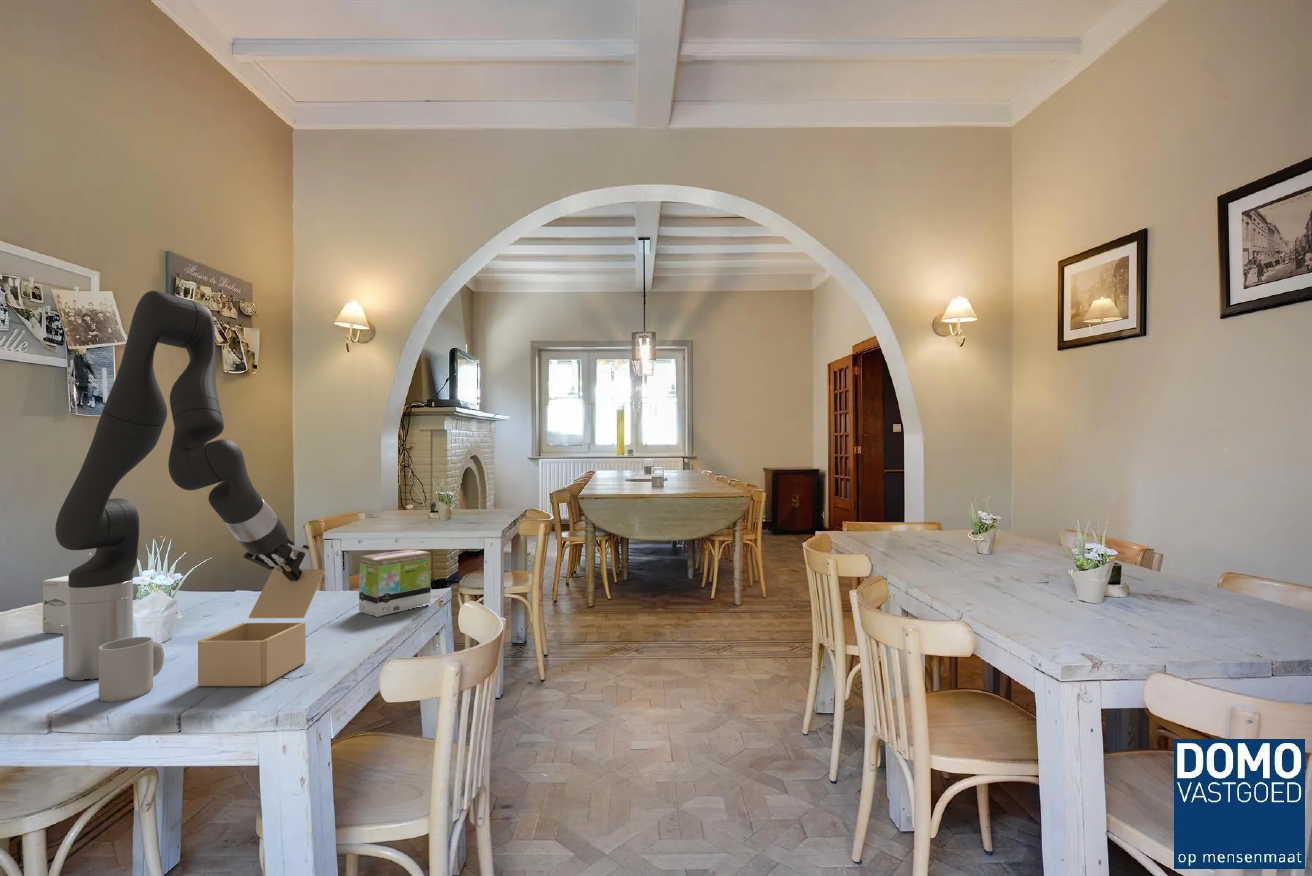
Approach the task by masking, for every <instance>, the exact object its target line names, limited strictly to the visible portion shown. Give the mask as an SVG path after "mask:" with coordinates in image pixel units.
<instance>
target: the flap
mask: <svg viewBox="0 0 1312 876" xmlns="http://www.w3.org/2000/svg"><path fill="white" fill-rule="evenodd" d="M300 569H301V571H302V574H301V576H300V578H299V579H298V581H290V580H289V579H288V578H286V577H285V575H284V574H283V573H282V572H280V571H278V570H277V569H276V568H274V569H273V570H271V573H270V574H269V576H268V579H267V581H266V582H265V584H264V586H263V588H262V590H261V592H260V594H259V596H258V597H257V599H256V602H255V603H254V606H253V608H252V610H251V612H250V613H249V616H248V618H249V619H305V618H306V615H307V612H308V611H309V608H310V605H311V603H312V602H313V599H314V597H315V595H316V592H317V590H318V588H319V587H320V586H319V585H320V583H321V581H322V580H323V579H322V578H323V576H324V574H325V572H326V568H300Z"/></svg>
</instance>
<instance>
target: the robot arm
mask: <svg viewBox="0 0 1312 876" xmlns="http://www.w3.org/2000/svg"><path fill="white" fill-rule="evenodd" d="M215 328H216V325H215V319H214V316H213V313H212V311H211V310H210V309H209V308H208V307H207V306H206V305H204V304H201V303H199V302H196V301H193V300H189V299H186V298H183V297H179V296H175V295H172V294H169V293H165V292H162V291H158V290H149V291H147V292H146V293H144V294H143V295H142V296H141V298H140V299H139V301H138V303H137V304H136V306H135V310H134V312H133V316H132V319H131V323H130V327H129V331H128V334H127V338H126V342H125V346H124V350H123V354H122V358H121V361H120V365H119V368H118V371H117V372H116V373H117V374H116V376H115V379H114V382H113V384H112V387H111V388H110V389H111V390H110V392H109V394H108V397H107V399H106V401H105V404H104V406H103V409H102V411H101V414H100V417H99V420H98V422H97V424H96V428H95V432H94V435H93V439H92V441H91V443H90V446H89V449H88V451H87V453H86V456H85V459H84V460H83V463H82V465H81V468H80V470H79V473H78V474H77V476H76V479H75V481H74V482H73V485H72V486H71V487H70V490H69V492H68V494H67V496H66V497H65V499H64V501H63V503H62V505H61V507H60V509H59V512H58V515H57V518H56V522H55V531H54V532H55V538H56V541H57V542H58V543H59V545H60V546H61V547H62V548H64V549H65V550H69V551H70V550H71V551H86V550H93V549H95V552H94V555H93V556H92V557H91V558H90V559H89V560H87V561H86V562H85V563H83V564H81V565H79V566H77V567H75V568H73V569H72V570H71V571H70V572H69V574H68V576H69V578H68V586H69V588H68V602H69V625H67V626H65V627H64V628H63V635H62V636H63V637H62V640H63V641H62V648H63V649H62V650H63V651H62V677H63V678H67V679H68V680H71V681H85V680H84V679H90V680H95V679H99V647H100V646H101V645H103V644H106V643H109V642H112V641H116V640H121V639H126V638H133V637H134V579H133V578H134V570H135V568H136V566H137V562H138V554H139V542H140V541H139V538H140V517H139V513H138V510H137V508H136V506H135V505H134V504H133V502H131V501H130V500H128V499H125V498H120V497H119V498H110V497H111V495H112V493H113V491H114V489H115V488H116V487H117V485H118V484H119V482H121V480H123V478H124V477H125V476H126V475H128V473H129V472H131V471H132V470H133V469H134V468H135V467H136V466H138V465H139V464H140V463H141V462H142V461H143V460H144V459H145V458H146V457H147V456H148V455H150V453H151V452H152V451H153V450H154V449H155V447H156V446H157V444H158V442H159V439H160V437H161V435H162V431H163V429H164V426H165V424H166V421H167V418H168V408H167V405H166V401H165V398H164V395H163V393H162V390H161V387H160V386H159V383H158V380H157V378H156V375H155V369H154V356H155V351H156V348H157V345H158V344H163V345H168V346H171V347H176V348H180V349H181V348H182V349H185V350H186V351H187V354H188V357H189V362H188V365H187V366H186V368H185V369H184V370H183V372H182V373H181V374H180V375H179V376H178V378H177V379H176V381H175V382H174V383H173V385H172V387H171V389H170V393H169V406H170V410H171V411H170V412H171V417H172V423H173V427H174V430H173V437H172V441H171V442H172V443H171V445H170V446H171V447H170V451H169V455H168V465H167V466H168V467H167V468H168V472H169V476H170V478H171V480H172V481H173V483H174V484H175V485H176V486H178V487H179V488H180V489H182V490H185V491H197V490H200V489H203V488H206V487H209V486H213V485H215V486H213V488H212V489H211V491H210V492H209V494H208V502H209V503H208V504H209V505H210V506H211V508H212V509H213V510H214V511H215V513H216V514H218V516H219V517H220V518H221V519H222V521H223V522H224V523H225V525H226V528H227V529H228V531H230V533H231V534H232V535H233V536H234V537H235V539H236V540H237V541H238V543H239V544H240V545H241V546H242V548H243V549H245V553H244V555H243V558H244V560H245V559H246V561H247V560H248V561H250V562H252V563H254V564H256V565H258V566H261V567H263V568H265V569H267V570H269V571H273V569H277V570H278V571H280V572H282V573H283V574H284V575H285V577H286V578H288V579H289V580H290V581H298V579H299V578H300V576H301V574H302V571H301V569H302V568H300V566H301V564H302V563H303V560H304V559H305V557H306V555H307V553H308V551H309V550H310V546H309V545H307V544H304V545H302V547H301V546H298V545H295V542H294V541H293V540H292V539H291V538H289V537H288V530H287V528H286V526H285V525H284V523H283V522H282V520H280V518H279V517H278V515H277V514H276V513H275V512H274V509H272V507H271V506H270V505H269V504H268V503H267V501H265V500H264V499H263V498H262V497H261V495H260V494H259V492H258V491H257V490H256V488H255V487H254V485H253V484H252V482H251V479H250V477H249V474H248V471H247V466H246V462H245V461H246V460H245V458H244V454H243V451H242V449H241V448H240V447H239V445H238V444H236V443H235V442H234V441H231V440H229V439H223V438H221V439H216V440H215V438H217V437H219V436H220V435H221V434H222V433H223V431H224V429H225V423H224V418H223V414H222V409H221V405H220V401H219V398H218V397H219V396H218V391H217V383H216V380H217V379H216V329H215ZM216 484H217V485H216ZM130 580H131V582H130Z"/></svg>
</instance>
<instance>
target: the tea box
mask: <svg viewBox="0 0 1312 876" xmlns="http://www.w3.org/2000/svg"><path fill="white" fill-rule="evenodd" d="M431 556H432V553H431V552H430V551H424V550H419V549H411V548H410V549H404V550H403V549H402V550H395V551H390V552H381V553H374V554H367V555H365V554H364V555H360V556H359V574H358V575H359V576H358V577H359V578H358V580H359V582H358V584H359V585H358V588H359V589H358V612H360V613H363V612H364V613H363V614H366V613H367V614H366V615H368V616H369V615H370V616H372V615H374V616H373V617H375V616H376V618H379V617H383V616H387V615H390V614H395V613H399V612H404V611H408V609H410V610H413V609H412V608H415V607H417V606H422V605H423V604H427V603H430V604H431V590H432V589H431V582H432V581H431V570H432V569H431V567H432V563H431V562H432V558H431ZM415 609H416V608H415Z"/></svg>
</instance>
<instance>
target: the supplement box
mask: <svg viewBox="0 0 1312 876" xmlns="http://www.w3.org/2000/svg"><path fill="white" fill-rule="evenodd" d="M68 578H69V575H65V576H59V577H54V578H49V579H44V580H43V581H42V633H43V632H45V633H44V634H63V628H64V627H65V626H67V625H69V602H68V588H69V586H68ZM61 625H63V626H61Z"/></svg>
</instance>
